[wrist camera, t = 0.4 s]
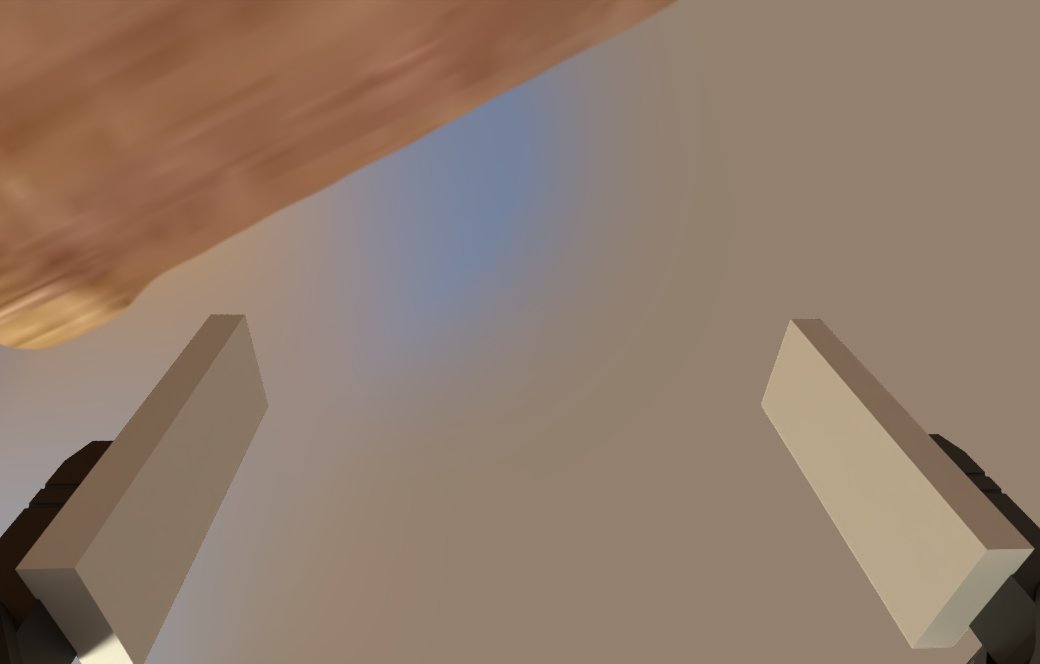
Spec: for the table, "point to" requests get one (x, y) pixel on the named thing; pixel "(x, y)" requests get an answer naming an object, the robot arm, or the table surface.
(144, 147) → the table surface
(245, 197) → the table surface
